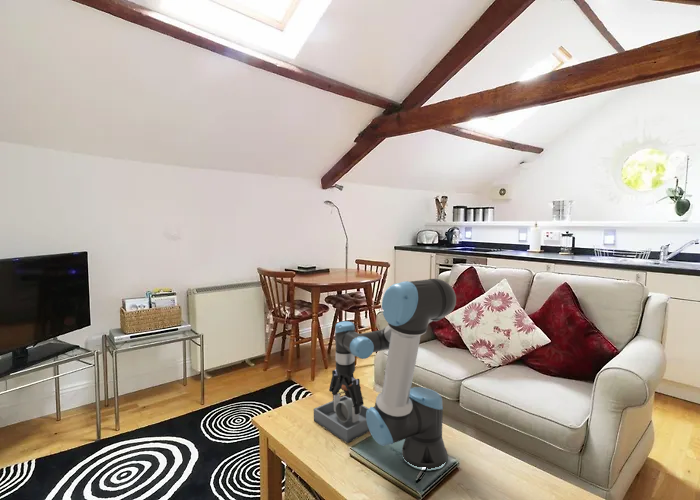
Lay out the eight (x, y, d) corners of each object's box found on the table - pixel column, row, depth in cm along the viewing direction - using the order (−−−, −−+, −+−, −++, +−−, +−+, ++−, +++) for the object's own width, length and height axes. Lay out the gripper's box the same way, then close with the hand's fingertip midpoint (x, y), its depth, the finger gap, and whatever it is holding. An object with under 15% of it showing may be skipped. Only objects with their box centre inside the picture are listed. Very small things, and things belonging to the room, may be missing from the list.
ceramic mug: (363, 417, 151) (362, 398, 150) (348, 425, 145) (347, 406, 145) (344, 408, 158) (344, 390, 158) (329, 416, 153) (329, 397, 152)
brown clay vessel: (335, 403, 169) (331, 384, 172) (339, 403, 178) (335, 384, 181) (362, 396, 169) (357, 377, 172) (364, 396, 178) (359, 378, 181)
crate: (379, 426, 150) (379, 414, 149) (347, 443, 139) (347, 430, 138) (345, 406, 165) (344, 395, 165) (313, 420, 154) (313, 408, 154)
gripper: (373, 367, 143) (373, 423, 145) (334, 351, 161) (334, 401, 163) (358, 373, 138) (358, 431, 140) (319, 355, 156) (320, 407, 158)
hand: (346, 415), depth 152 cm, fingers closed on ceramic mug, 11 cm apart
